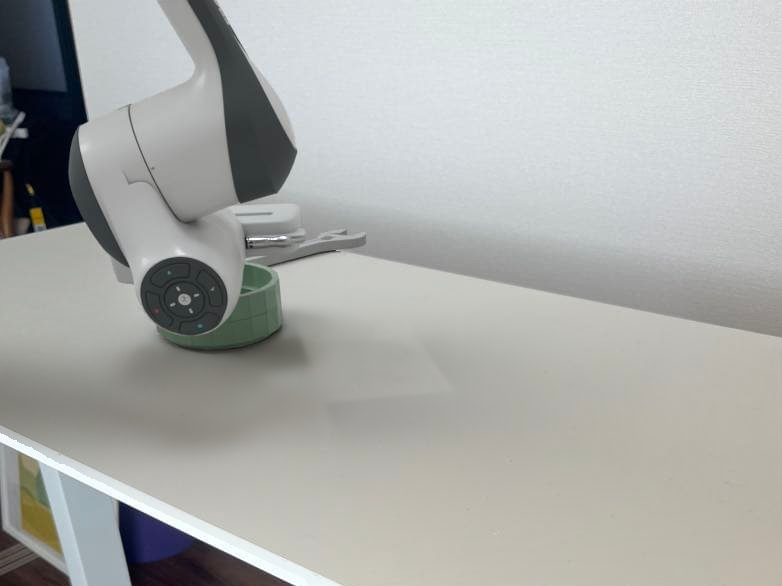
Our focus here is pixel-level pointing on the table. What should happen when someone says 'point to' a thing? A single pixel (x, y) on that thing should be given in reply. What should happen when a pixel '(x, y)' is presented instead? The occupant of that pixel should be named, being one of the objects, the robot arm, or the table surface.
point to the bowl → (243, 314)
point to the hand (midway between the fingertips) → (210, 212)
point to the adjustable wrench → (316, 246)
